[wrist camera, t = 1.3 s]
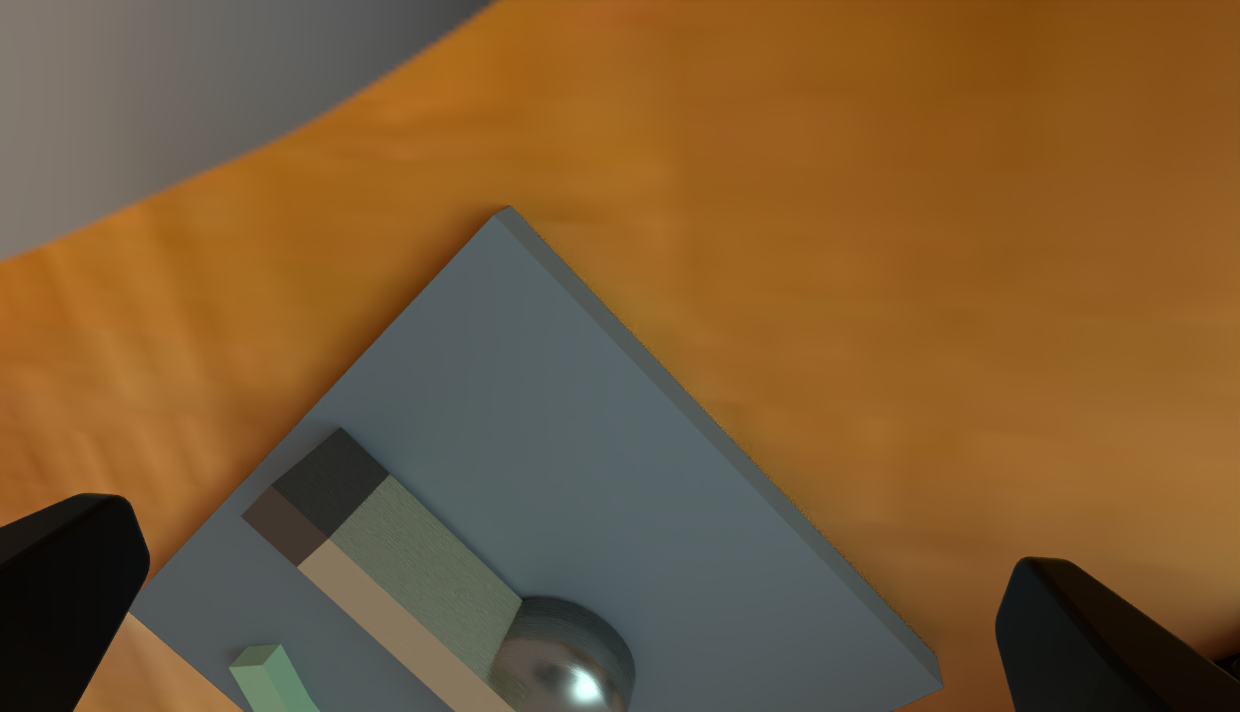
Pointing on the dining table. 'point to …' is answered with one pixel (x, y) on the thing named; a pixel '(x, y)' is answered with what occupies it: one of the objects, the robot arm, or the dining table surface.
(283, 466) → the board
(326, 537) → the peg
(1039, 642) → the robot arm
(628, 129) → the dining table surface
